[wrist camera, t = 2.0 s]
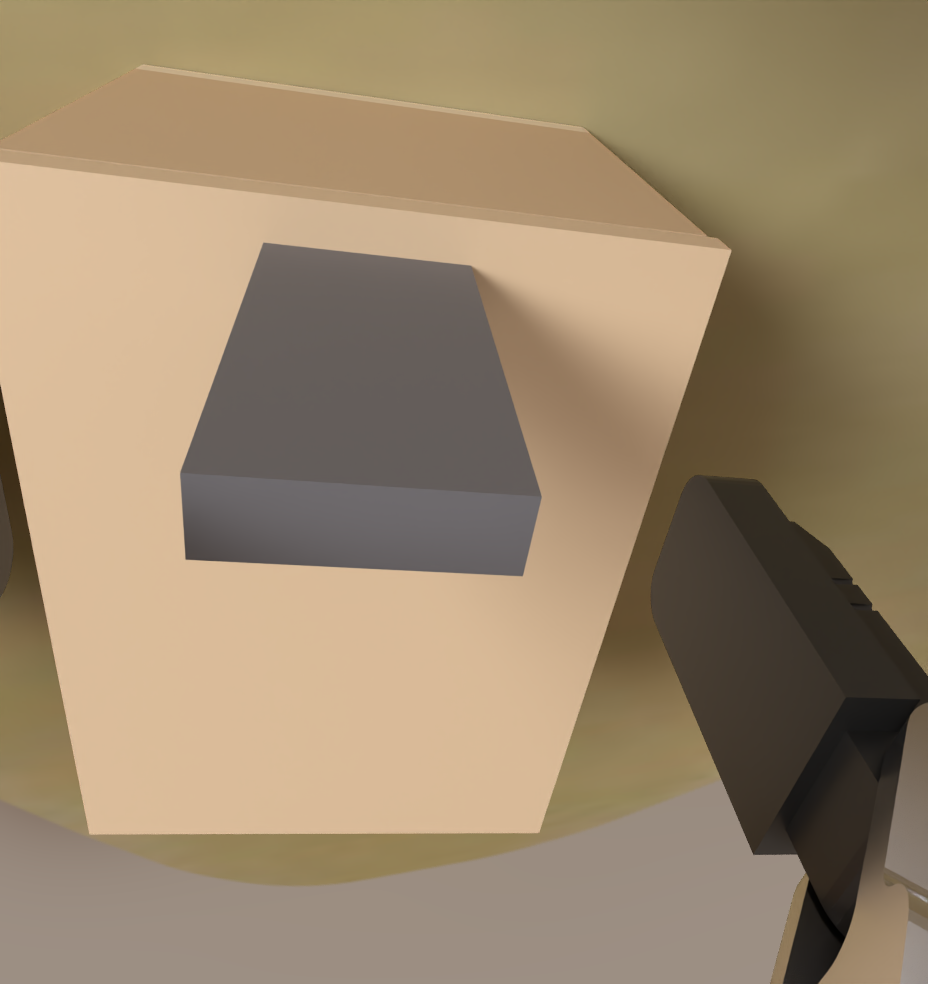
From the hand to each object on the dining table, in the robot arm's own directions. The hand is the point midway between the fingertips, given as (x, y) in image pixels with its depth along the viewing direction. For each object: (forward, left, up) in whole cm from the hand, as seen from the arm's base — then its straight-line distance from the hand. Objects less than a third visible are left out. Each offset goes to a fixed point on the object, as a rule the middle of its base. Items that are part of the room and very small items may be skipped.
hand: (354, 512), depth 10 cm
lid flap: (+8, 0, -8) cm, 12 cm away
